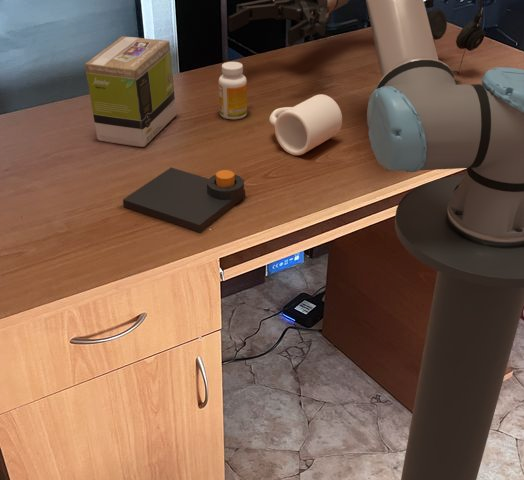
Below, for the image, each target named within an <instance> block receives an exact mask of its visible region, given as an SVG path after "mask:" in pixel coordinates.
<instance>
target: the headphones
mask: <svg viewBox="0 0 524 480" xmlns="http://www.w3.org/2000/svg"><path fill="white" fill-rule="evenodd" d="M477 1H478V3H477V4H478V13H475V14H474V18H473V20H471V21H470V22H469V23H468V22H467V24H466V25H464V26H463V27H462V29H461V30H460V31H459V33H458V34H457V36H456V40H455V44H456V47H457V48H458V49H459V50H464V51H463V55H462V59H461V62H460V65H459V68H458V71H457V70H452V72H453V73H454V72H456V73H457V74H459V73H460V70H461V67H462V63H463V60H464V56H465V52H466V50H467V51H468V52H471V51H474V50H476V49H478V48H479V46H480V45H481V44H482V43H483V41H484V39H485V36H486V33H485V30H483V27H482V26H481V24H482V22H483V19H484V14H483V10H484V7H485V3H486V2H485V1H483V3H482V0H477ZM433 8H434V0H425V9H430V11H429V12H426V13H427V17H428V20H429V24H430V28H431V32H432V36H433V40H434V41H435V40H437V41H438V40H440V39H442V38H443V36H444V35H445V33H446V32H447V28H448V22H447V16H446V14H445V12H444V11H443V10H441V9H439V8H434V9H433ZM434 44H435V42H434ZM435 45H436V44H435ZM455 82H456V85H458V83H459V82H458V81H457V79H455Z"/></svg>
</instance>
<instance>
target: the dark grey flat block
mask: <svg viewBox="0 0 524 480" xmlns="http://www.w3.org/2000/svg"><path fill="white" fill-rule="evenodd" d="M245 198H246V189H245V180H244V179H243V178H242V177H241V175H237V174H235V184H234V186H231V187H219V186H217V185H216V174H214V175H212V176H210V177H209V178H207V177H205V176H201V175H199V174H194V173H191V172H189V171H185V170H181V169H178V168H175V167H170V168H168V169H166V170H165V171H164V172H162V173H161V174H159V175H157V176H156V177H154V178H153V179H151V180H150V181H148V182H147V183H145V184H143V186H141V187H140V188H138V189H136V190H135V191H133V192H132V193H130V194H128V195H127V196H126V197H124V198H122V204H123V208H125V209H129V210H132V211H135V212H138V213H141V214H144V215H146V216H149V217H152V218H155V219H158V220H161V221H164V222H167V223H170V224H173V225H176V226H179V227H182V228H185V229H188V230H191V231H193V232H197V233H202V232H203V231H204V230H206V229H207V228H208V227H209V226H211V225H212V224H213V223H215V222H216V221H217V220H219V218H220V217H221V218H222V216H224V215H225V214H226V213H227V212H228V211H230V210H231V209H232V208H233V207H235V206H236V205H237V204H238V203H240V202H241V201H242V200H244V199H245Z"/></svg>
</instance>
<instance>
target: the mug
mask: <svg viewBox="0 0 524 480" xmlns="http://www.w3.org/2000/svg"><path fill="white" fill-rule="evenodd" d="M269 123H270V124H271V125H272V126H273V127H274V133H275V138H276V140H277V142H278V144H279V146H280V147H281V149H283V150H284V151H285V152H287V154H290V155H292V156H302V155H304V154H306V153H307V152H309V151H311V150H313V149H314V148H316V147H318V146H320V145H322V144H323V143H324V142H326V141H328V140H329V139H331V138H333V137H335V136H337V134H338V133H339V132H340V131H341V128H342V125H343V115H342V111H341V108H340V106H339V105H338V103H337V102H336V101H335V99H333V98H332V97H331V96H328V95H326V94H323V93H321V94H315V95H314V96H312V97H309V98H307V99H306V100H304V101H302V102H300V103H298V104H296V105H294V106H285V107H279V108H276V109H275V110H273V111H272V112H271V114H270V116H269Z"/></svg>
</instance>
